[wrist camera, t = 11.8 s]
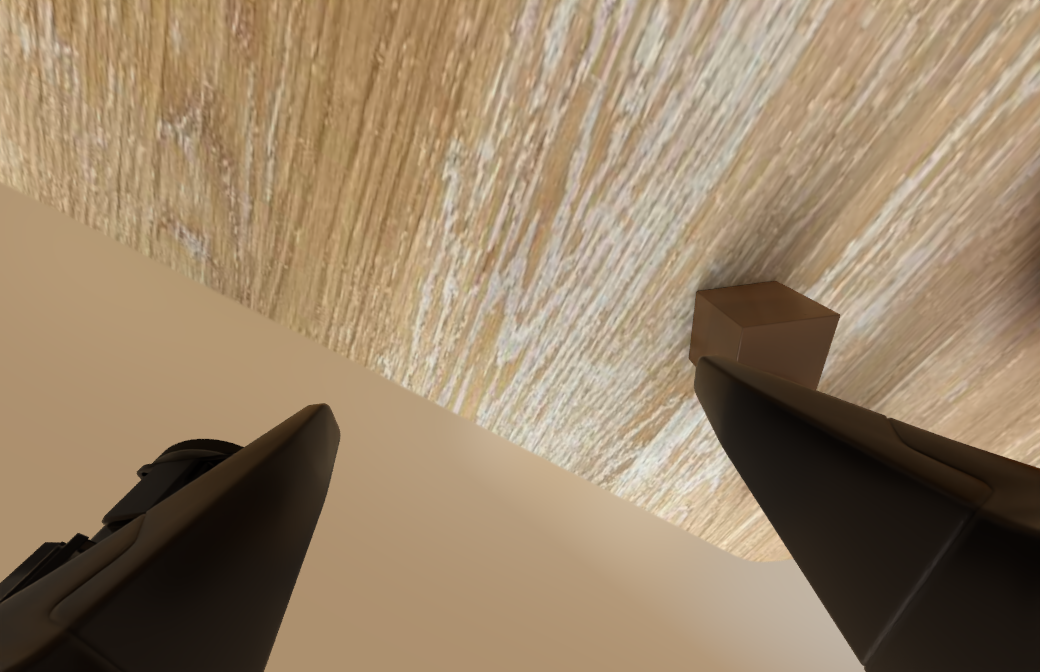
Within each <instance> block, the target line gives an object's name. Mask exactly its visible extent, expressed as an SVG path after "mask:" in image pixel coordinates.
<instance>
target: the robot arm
mask: <svg viewBox="0 0 1040 672" xmlns="http://www.w3.org/2000/svg"><path fill="white" fill-rule="evenodd" d="M694 389H695V393H696V395H697V397H698V399H699V401H700V403H701V405H702V407H703V409H704V411H705V414H706V416H707V418H708V420H709V422H710V424H711V426H712V428H713V430H714V432H715V434H716V436H717V438H718V440H719V442H720V443H721V445H722V447H723V449H724V450H725V452H726V454H727V455H728V457H729V458H730V460H731V461H732V463H733V465H734V466H735V468H736V469H737V471H738V472H739V474H740V475H741V477H742V479H743V480H744V482H745V483H746V485H747V486H748V488H749V490H750V491H751V493H752V494H753V496H754V497H755V499H756V500H757V502H758V504H759V505H760V507H761V508H762V510H763V511H764V513H765V515H766V516H767V518H768V519H769V521H770V522H771V524H772V525H773V527H774V529H775V530H776V532H777V533H778V535H779V536H780V538H781V540H782V541H783V543H784V544H785V546H786V547H787V549H788V550H789V552H790V554H791V555H792V557H793V558H794V560H795V561H796V563H797V564H798V566H799V568H800V569H801V571H802V572H803V574H804V575H805V577H806V578H807V580H808V581H809V583H810V585H811V586H812V588H813V589H814V591H815V593H816V594H817V596H818V597H819V599H820V600H821V602H822V603H823V605H824V607H825V608H826V610H827V611H828V613H829V614H830V616H831V618H832V619H833V621H834V622H835V624H836V625H837V627H838V629H839V630H840V631H841V633H842V635H843V636H844V638H845V639H846V641H847V642H848V644H849V646H850V647H851V649H852V650H853V652H854V654H855V655H856V657H857V658H858V660H859V661H860V663H861V664H862V665H863V666H865V667H864V670H865V671H866V672H1040V468H1037V467H1034V466H1031V465H1028V464H1024V463H1021V462H1018V461H1015V460H1012V459H1009V458H1006V457H1003V456H1000V455H997V454H993V453H990V452H987V451H984V450H981V449H978V448H975V447H972V446H969V445H966V444H963V443H960V442H957V441H954V440H951V439H948V438H946V437H943V436H940V435H937V434H934V433H932V432H929V431H926V430H923V429H920V428H917V427H915V426H912V425H909V424H906V423H904V422H901V421H898V420H896V419H893V418H888V419H887V417H886V416H884V415H882V414H879V413H876V412H874V411H871V410H868V409H865V408H863V407H860V406H857V405H854V404H852V403H849V402H846V401H844V400H841V399H838V398H835V397H833V396H830V395H827V394H825V393H822V392H819V391H816V390H814V389H811V388H808V387H805V386H803V385H800V384H797V383H795V382H792V381H789V380H786V379H784V378H781V377H778V376H776V375H773V374H770V373H767V372H765V371H762V370H759V369H757V368H754V367H751V366H748V365H746V364H743V363H740V362H737V361H735V360H732V359H729V358H727V357H724V356H721V355H718V354H712V355H704V356H701V357H699V359H698V361H697V366H696V373H695V380H694ZM339 442H340V429H339V427H338V424H337V422H336V420H335V417H334V415H333V413H332V410H331V409H330V407H329V405H327V404H325V403H323V404H314V405H309V406H307V407H305V408H303V409H302V410H300V411H299V412H297V413H296V414H294V415H293V416H291V417H290V418H288V419H287V420H285V421H284V422H282V423H281V424H279V425H278V426H276V427H275V428H273V429H272V430H270V431H268V432H267V433H265V434H264V435H262V436H261V437H260V438H258V439H257V440H255V441H253V442H252V443H250V444H249V445H247V446H246V447H244V448H243V449H241V450H240V451H238V452H237V453H235V454H233V453H229V454H221V455H214V456H206V457H199V458H191V459H184V460H177V461H169V462H162V463H154V464H147V465H144V466H142V467H141V468H140V469H139V470H138V471H137V475H138V476H139V477H140V478H141V481H140V482H139V483H138V484H137V485H136V486H135V487H134V488H133V489H132V490H131V491H130V492H129V493H128V494H127V495H126V496H125V497H124V498H123V499H122V500H120V501H119V502H118V503H117V504H116V505H115V507H113V508H112V509H111V510H110V511H109V512H108V513H107V514H106V515H105V516H104V518H103V520H102V523H103V524H104V525H105V526H104V527H103V528H102V529H101V530H100V531H99V532H98V533H97V534H96V535H95V536H94V537H93V538H92V539H91V540H88V538H89V537H87V536H85V535H82V534H80V533H77V534H76V535H75V536H74V537H73V538H72V539H71V540H70V541H69V542H67V543H65V542H61V543H53V542H45V543H44V544H43V545H42V546H41V547H40V548H38V549H37V550H36V551H35V552H34V553H33V554H32V555H31V556H30V557H28V558H27V559H26V560H25V561H24V562H23V563H22V564H21V565H20V566H19V567H18V568H16V569H15V570H14V571H13V572H12V573H11V574H10V575H9V576H8V577H6V578H5V579H4V580H3V581H2V582H1V583H0V672H264V670H265V667H266V664H267V661H268V659H269V656H270V653H271V650H272V647H273V644H274V642H275V639H276V636H277V633H278V630H279V628H280V625H281V622H282V619H283V617H284V614H285V611H286V608H287V605H288V603H289V600H290V597H291V594H292V591H293V589H294V586H295V583H296V580H297V577H298V575H299V572H300V569H301V566H302V563H303V561H304V558H305V555H306V552H307V549H308V547H309V544H310V541H311V538H312V535H313V532H314V530H315V527H316V524H317V521H318V518H319V516H320V513H321V510H322V507H323V504H324V501H325V498H326V495H327V491H328V488H329V483H330V479H331V475H332V471H333V467H334V462H335V458H336V454H337V450H338V445H339Z"/></svg>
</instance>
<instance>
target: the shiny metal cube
mask: <svg viewBox="0 0 1040 672" xmlns="http://www.w3.org/2000/svg"><path fill="white" fill-rule="evenodd" d="M839 318H840V314H838V313H836V312H834V311H833V310H831V309H829V308H827V307H825V306H823V305H821V304H819V303H817V302H815V301H813V300H812V299H810V298H808V297H806V296H804V295H802V294H800V293H798V292H796V291H794V290H793V289H791V288H789V287H787V286H785V285H783V284H781V283H779V282H777V281H771V282H763V283H756V284H748V285H741V286H733V287H726V288H718V289H711V290H704V291H697V292H696V301H695V310H694V318H693V327H692V336H691V344H690V353H689V359H690V360H691V362H692V363H693V364H694V365H695V366H697V361H698V359H699V357H701V356H704V355H712V354H718V355H721V356H724V357H727V358H729V359H732V360H735V361H737V362H740V363H743V364H746V365H748V366H751V367H754V368H757V369H759V370H762V371H765V372H767V373H770V374H773V375H776V376H778V377H781V378H784V379H786V380H789V381H792V382H795V383H797V384H800V385H803V386H805V387H808V388H811V389H814V390H816V389H817V386H818V383H819V380H820V377H821V374H822V371H823V368H824V364H825V361H826V358H827V355H828V352H829V349H830V346H831V343H832V340H833V337H834V334H835V330H836V327H837V324H838V321H839Z"/></svg>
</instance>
